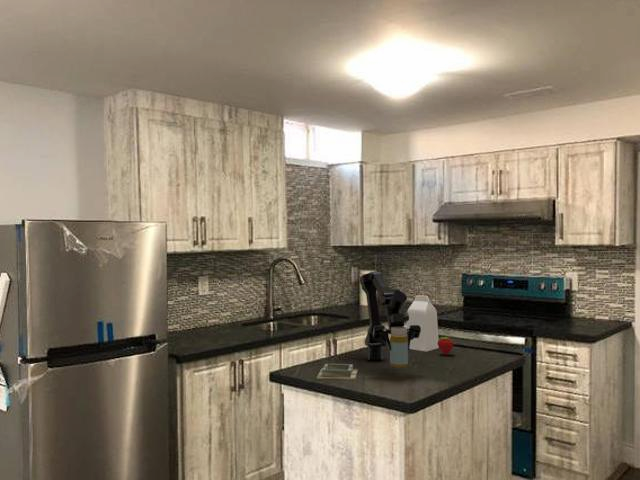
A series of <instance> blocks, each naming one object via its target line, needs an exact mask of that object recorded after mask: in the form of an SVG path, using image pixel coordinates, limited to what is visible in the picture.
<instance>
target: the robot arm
mask: <svg viewBox="0 0 640 480" xmlns="http://www.w3.org/2000/svg"><path fill="white" fill-rule="evenodd" d="M359 284H360V287H361V290H362V291H363V292H364V293H365V296H366V303H367V313H368V320H369V326H368V328H367V334H366V335H365V338H364V346H365V347H367V348H368V358H367V360H368V361H376V362H377V361H378V362H379V361H380V362H382V361H383V360H384V359H383V358H384V357H383V354H382V353H383V351H382V350H383V348H382V347H386V348H388V350H389V352H390V351H391V344H390V337H389V335H391V327H405V323H406V322H407V321H408V320H409V314H408V313H407V312H403V313H401V310H402V309H404V307H405V304H406V302H407V300H408V297H407V294H406V293H405V292H403V291H401V289H394V288H391V287H390V286H389V285H388V283H387V282H386V281H385V278H384V277H383V275H382V272H381V271H370V272H368V273H365V274H362V275H361V276H360V277H359ZM377 292H378V294H379V297H378V296H377ZM378 299H379V300H378ZM378 301H379V302H378ZM378 303H380V305H381V306H386V308H385V315H386V319H387V326H388V328H387V327H385V325H383V323H382V322H381V319H380V310H379V304H378ZM420 332H421V328H420V326H419V325H410V328H409V329H407V339H408V351H409V350H410V349H409V346H410V341H411V340H413V339H414V338H418V337H419V335H420Z"/></svg>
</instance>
